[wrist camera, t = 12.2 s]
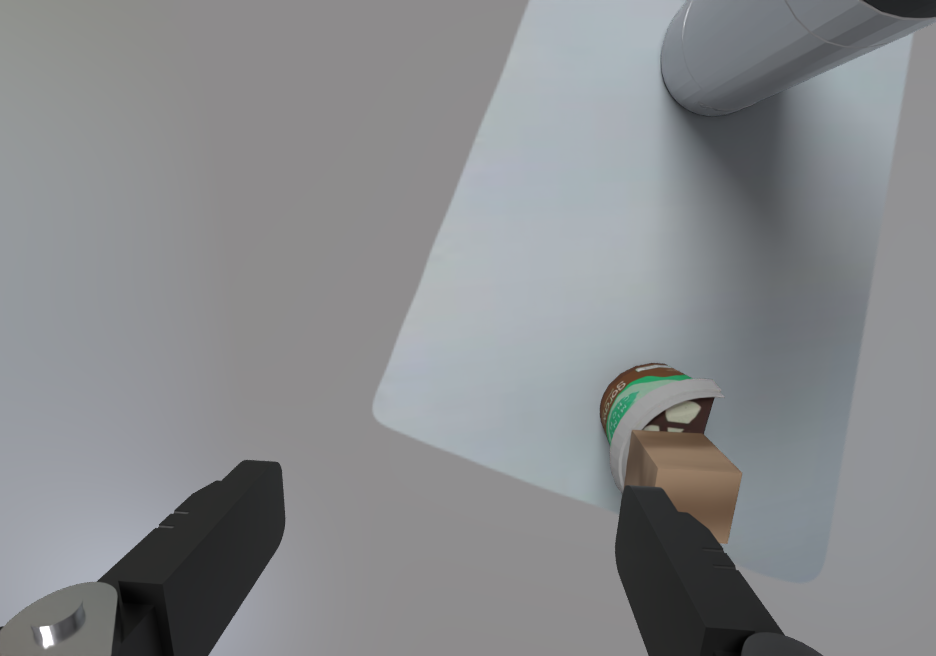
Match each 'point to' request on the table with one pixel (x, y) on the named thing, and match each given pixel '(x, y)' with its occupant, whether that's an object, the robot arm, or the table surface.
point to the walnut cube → (687, 475)
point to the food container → (652, 408)
